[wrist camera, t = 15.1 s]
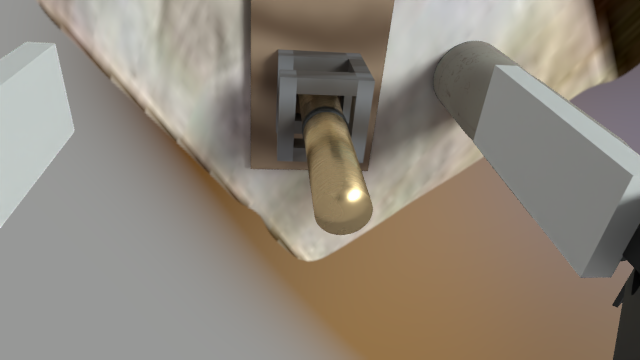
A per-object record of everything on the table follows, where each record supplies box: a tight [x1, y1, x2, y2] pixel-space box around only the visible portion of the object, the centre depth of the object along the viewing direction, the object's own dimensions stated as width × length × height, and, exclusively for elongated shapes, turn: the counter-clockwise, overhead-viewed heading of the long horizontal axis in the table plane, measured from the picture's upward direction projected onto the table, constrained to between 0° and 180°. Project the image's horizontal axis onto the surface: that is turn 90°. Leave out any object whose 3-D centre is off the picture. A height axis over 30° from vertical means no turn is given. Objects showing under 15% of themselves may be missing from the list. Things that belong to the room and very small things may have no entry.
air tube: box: [298, 94, 373, 235], centre depth 41 cm, size 4×4×22 cm
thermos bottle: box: [433, 41, 631, 261], centre depth 40 cm, size 8×8×28 cm
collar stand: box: [251, 0, 394, 171], centre depth 47 cm, size 20×14×9 cm
